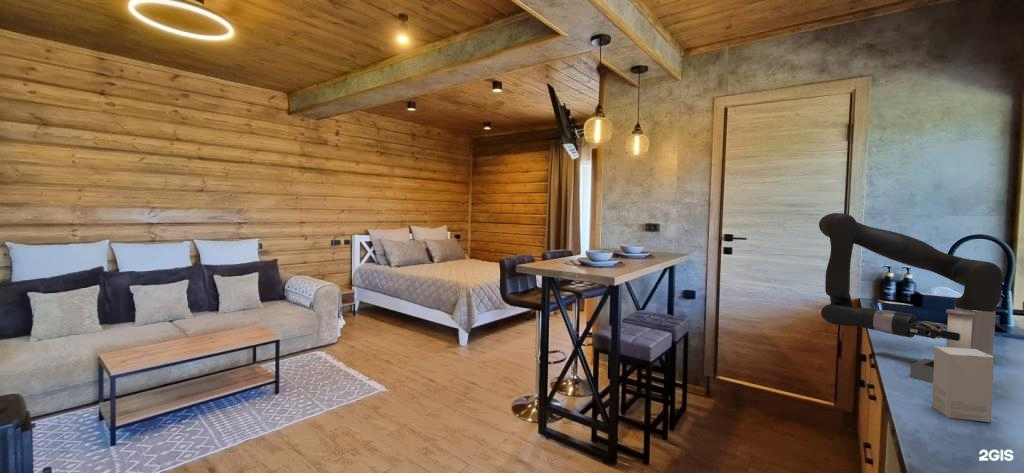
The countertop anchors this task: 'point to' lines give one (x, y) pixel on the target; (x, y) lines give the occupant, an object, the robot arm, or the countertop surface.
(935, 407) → the skincare box
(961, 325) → the plug
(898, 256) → the robot arm
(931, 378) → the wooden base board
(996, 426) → the countertop surface
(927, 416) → the countertop surface
